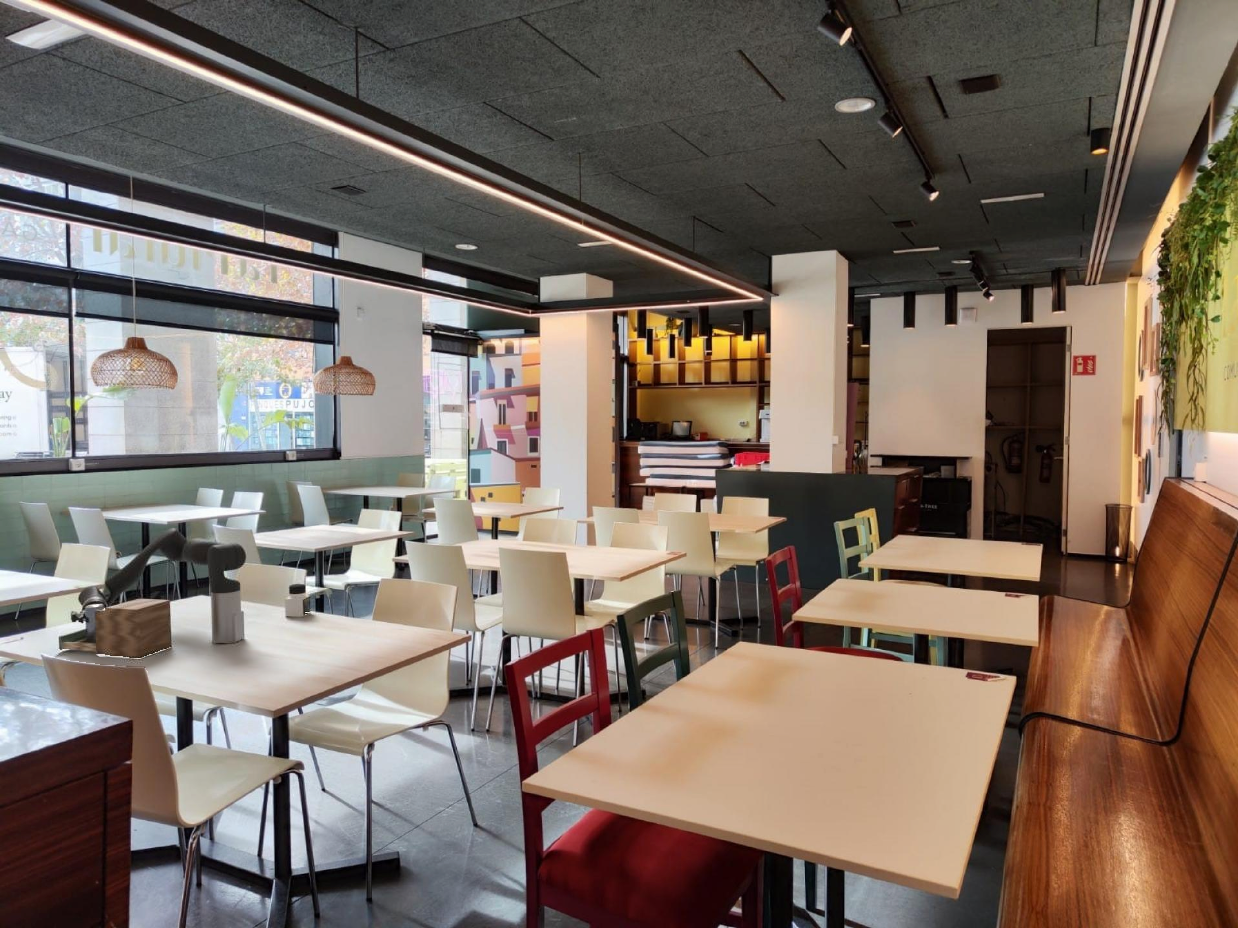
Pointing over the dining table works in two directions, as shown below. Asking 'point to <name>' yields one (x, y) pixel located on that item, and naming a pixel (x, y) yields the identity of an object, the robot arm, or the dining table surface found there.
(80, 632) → the wooden drawer
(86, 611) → the can
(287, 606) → the medicine bottle
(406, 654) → the dining table surface
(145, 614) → the walnut box
